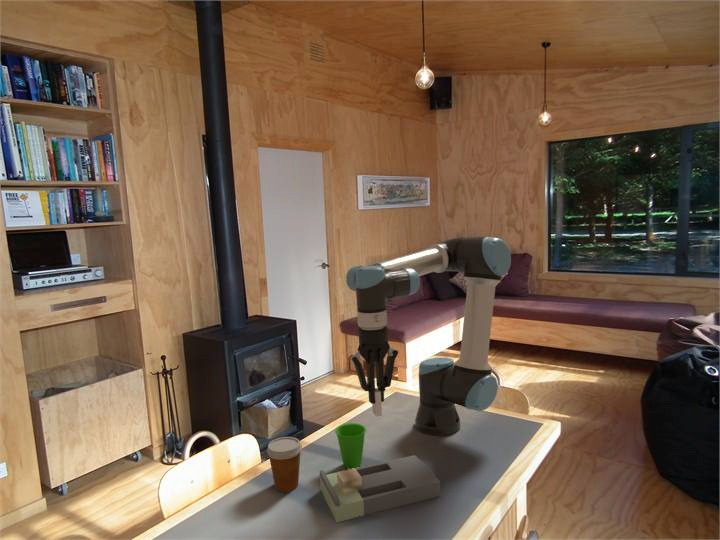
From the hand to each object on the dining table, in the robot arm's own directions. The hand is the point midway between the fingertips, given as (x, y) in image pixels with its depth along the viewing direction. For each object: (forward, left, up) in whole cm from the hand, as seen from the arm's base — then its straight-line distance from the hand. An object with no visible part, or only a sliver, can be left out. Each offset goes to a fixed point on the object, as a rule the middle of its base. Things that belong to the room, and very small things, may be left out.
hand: (377, 413), depth 131 cm
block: (+9, +2, -17) cm, 19 cm away
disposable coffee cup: (+23, -11, -21) cm, 33 cm away
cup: (+3, -14, -21) cm, 26 cm away
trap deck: (+1, +2, -21) cm, 21 cm away
